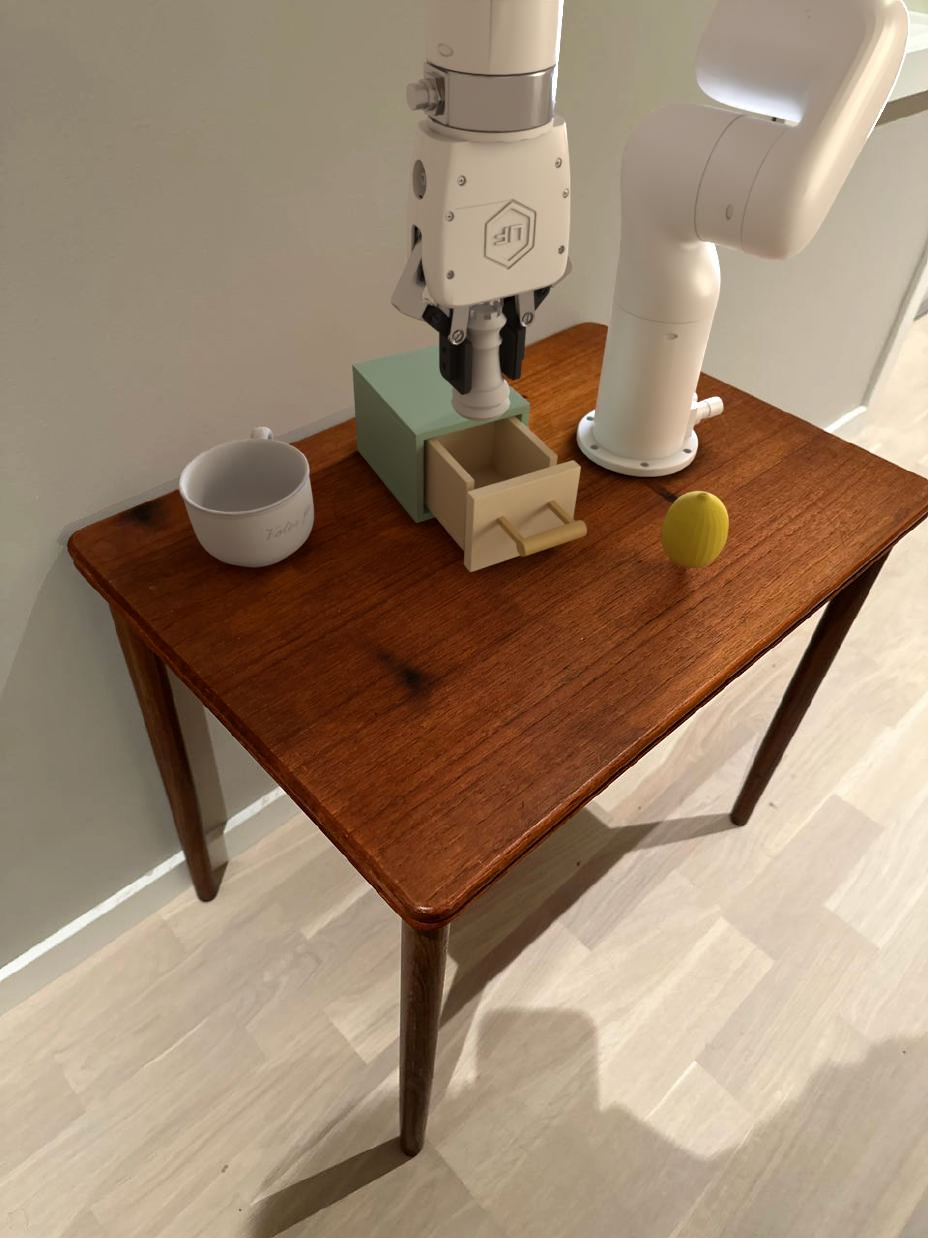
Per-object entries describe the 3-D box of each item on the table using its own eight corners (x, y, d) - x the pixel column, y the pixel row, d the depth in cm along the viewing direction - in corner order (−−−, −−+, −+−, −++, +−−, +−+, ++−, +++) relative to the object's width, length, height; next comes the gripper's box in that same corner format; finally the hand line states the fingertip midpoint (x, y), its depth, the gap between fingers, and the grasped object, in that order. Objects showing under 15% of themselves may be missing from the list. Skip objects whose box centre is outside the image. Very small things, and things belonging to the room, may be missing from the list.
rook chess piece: (464, 386, 67) (465, 286, 62) (518, 399, 66) (525, 298, 60) (441, 415, 64) (440, 313, 59) (497, 429, 63) (502, 325, 58)
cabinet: (522, 490, 85) (530, 404, 78) (416, 523, 81) (415, 434, 74) (456, 423, 93) (458, 339, 87) (357, 450, 89) (351, 364, 82)
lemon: (642, 554, 79) (658, 481, 73) (693, 540, 80) (713, 468, 75) (675, 593, 75) (696, 519, 69) (728, 577, 77) (752, 504, 71)
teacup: (293, 594, 73) (283, 518, 68) (173, 573, 75) (153, 498, 69) (342, 498, 83) (337, 425, 78) (236, 482, 85) (222, 409, 79)
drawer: (600, 569, 76) (614, 496, 70) (497, 606, 72) (503, 532, 66) (500, 467, 86) (505, 397, 81) (406, 495, 82) (405, 423, 77)
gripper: (391, 133, 45) (403, 433, 58) (644, 94, 51) (603, 374, 64) (334, 96, 50) (357, 382, 63) (572, 63, 56) (548, 331, 69)
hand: (481, 376), depth 63 cm, fingers closed on rook chess piece, 3 cm apart
